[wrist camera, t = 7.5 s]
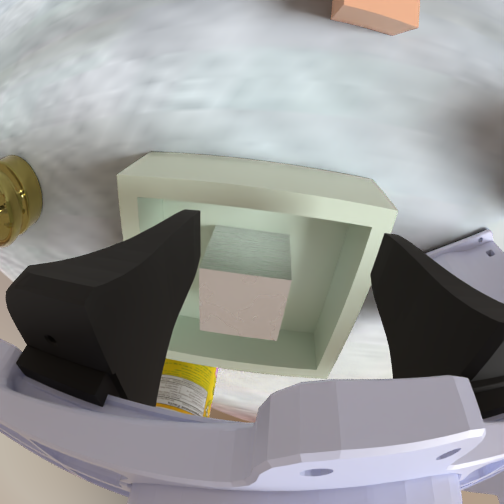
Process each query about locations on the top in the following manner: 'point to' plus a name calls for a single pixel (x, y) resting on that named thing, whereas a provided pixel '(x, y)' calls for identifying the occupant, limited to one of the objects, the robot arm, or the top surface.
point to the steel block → (244, 282)
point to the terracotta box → (378, 14)
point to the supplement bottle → (187, 388)
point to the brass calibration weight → (17, 198)
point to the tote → (278, 221)
